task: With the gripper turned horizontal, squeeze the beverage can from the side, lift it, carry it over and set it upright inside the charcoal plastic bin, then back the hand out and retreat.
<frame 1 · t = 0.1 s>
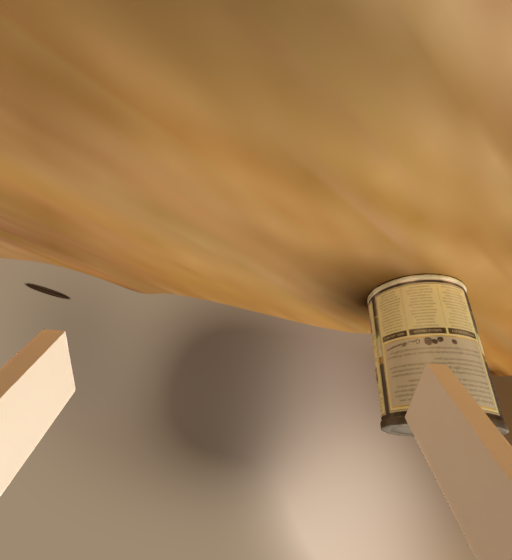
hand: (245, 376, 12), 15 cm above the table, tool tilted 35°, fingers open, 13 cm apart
coffee can: (413, 294, 37), on the table
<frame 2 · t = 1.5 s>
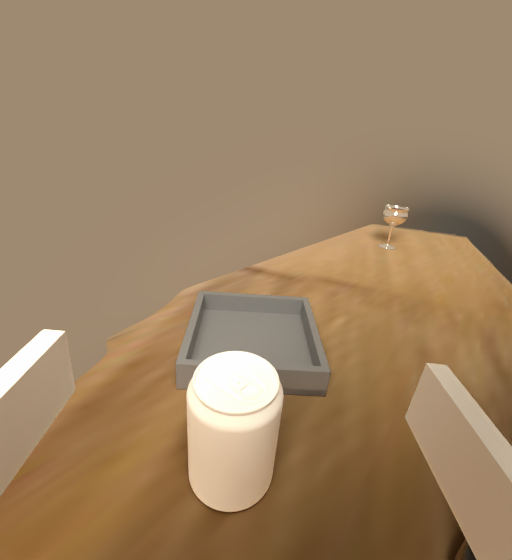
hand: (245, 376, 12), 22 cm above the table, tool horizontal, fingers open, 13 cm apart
wineglass: (386, 247, 99), on the table
beverage can: (230, 473, 32), on the table
bin: (252, 346, 50), on the table
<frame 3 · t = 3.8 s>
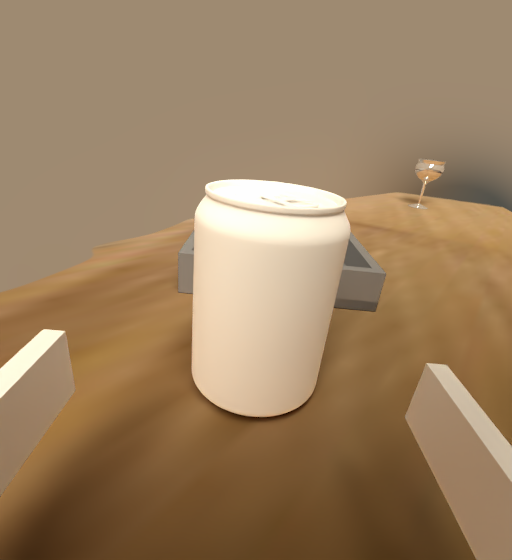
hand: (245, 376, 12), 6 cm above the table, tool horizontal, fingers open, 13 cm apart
wineglass: (417, 207, 89), on the table
beverage can: (253, 377, 22), on the table
bin: (274, 264, 40), on the table
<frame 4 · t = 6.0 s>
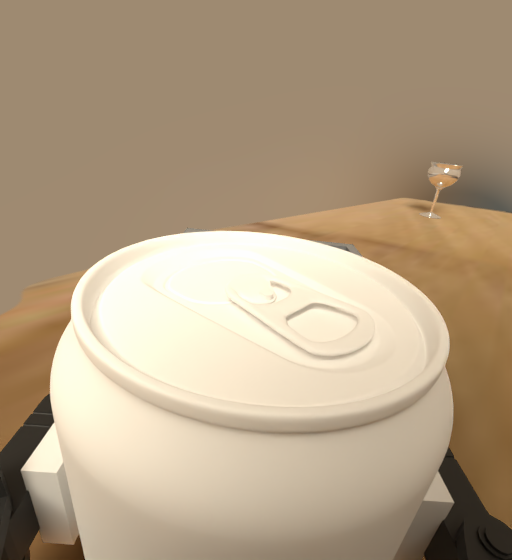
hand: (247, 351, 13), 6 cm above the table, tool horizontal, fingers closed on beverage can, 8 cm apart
wineglass: (429, 216, 80), on the table
bin: (268, 308, 30), on the table
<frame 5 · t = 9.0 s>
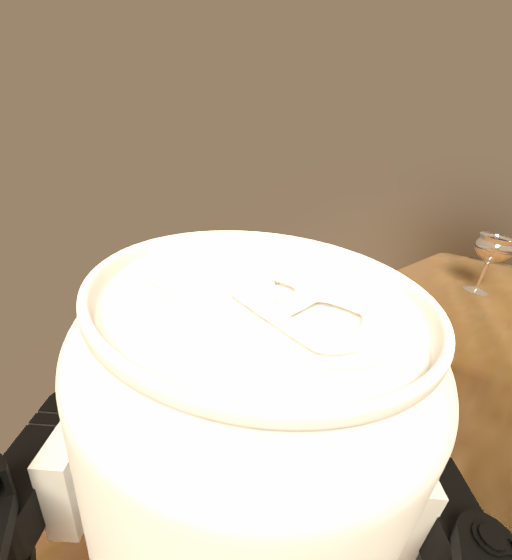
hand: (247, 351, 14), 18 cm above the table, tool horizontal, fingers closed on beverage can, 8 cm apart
wineglass: (475, 291, 70), on the table
when the fingers open (9 cm above the table, at t = 11.5 s): beverage can drops 2 cm, resting on bin.
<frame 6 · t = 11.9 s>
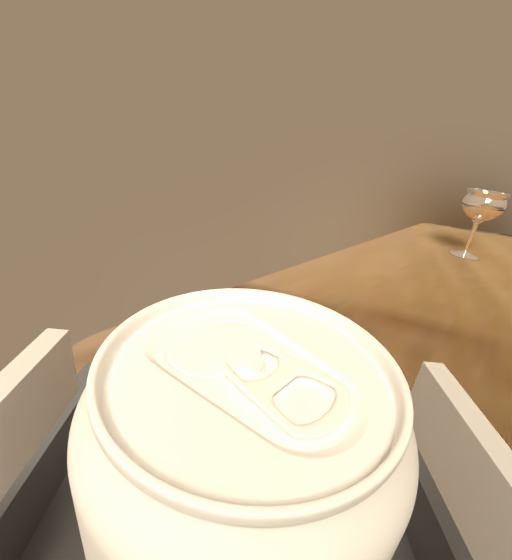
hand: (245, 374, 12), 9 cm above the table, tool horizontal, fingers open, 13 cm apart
wineglass: (463, 256, 63), on the table
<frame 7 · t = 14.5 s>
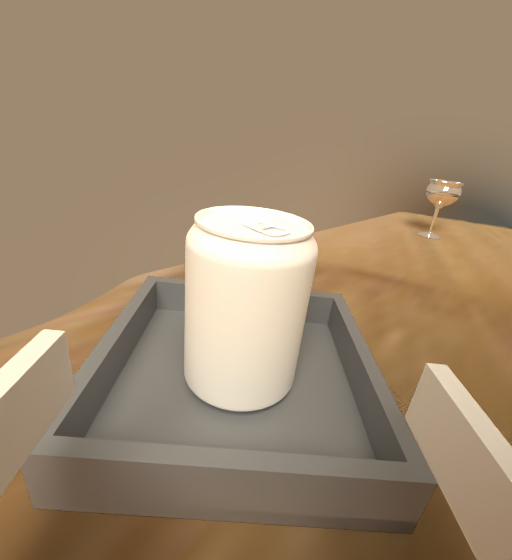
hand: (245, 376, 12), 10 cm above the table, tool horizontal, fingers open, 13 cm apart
wineglass: (428, 236, 75), on the table
beverage can: (238, 377, 25), point 1 cm above the table, touching bin
bin: (237, 385, 25), on the table
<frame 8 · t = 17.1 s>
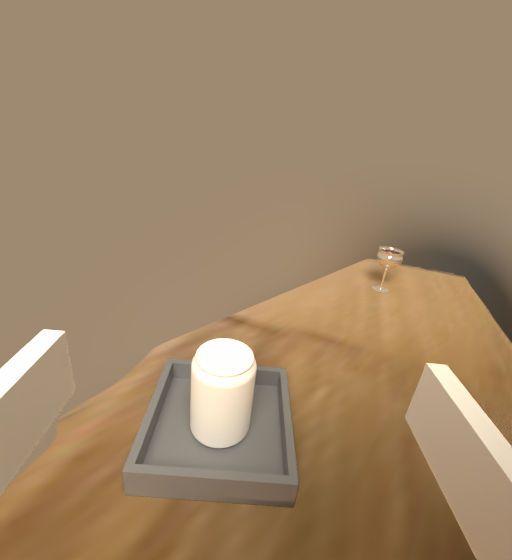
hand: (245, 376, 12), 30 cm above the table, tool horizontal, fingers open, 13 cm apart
wineglass: (380, 289, 95), on the table
beverage can: (219, 426, 45), point 1 cm above the table, touching bin
bin: (219, 430, 45), on the table
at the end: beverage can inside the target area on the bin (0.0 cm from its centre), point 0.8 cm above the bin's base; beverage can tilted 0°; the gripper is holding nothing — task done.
